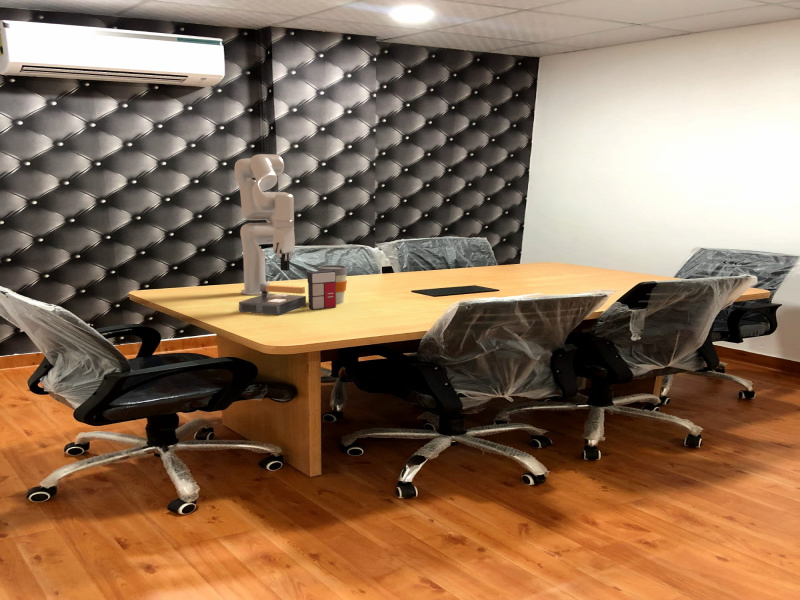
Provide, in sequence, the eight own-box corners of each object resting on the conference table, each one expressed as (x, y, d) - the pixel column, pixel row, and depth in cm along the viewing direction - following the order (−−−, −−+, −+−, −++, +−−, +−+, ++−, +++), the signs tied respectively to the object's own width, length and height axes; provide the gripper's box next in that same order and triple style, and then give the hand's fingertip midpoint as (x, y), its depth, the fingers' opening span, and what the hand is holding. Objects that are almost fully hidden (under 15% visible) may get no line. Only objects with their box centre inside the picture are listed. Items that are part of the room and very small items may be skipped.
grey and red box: (312, 310, 293) (311, 273, 290) (307, 308, 296) (307, 271, 294) (337, 307, 298) (336, 271, 296) (332, 306, 302) (331, 270, 299)
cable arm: (258, 291, 303) (258, 284, 303) (262, 289, 306) (262, 283, 306) (301, 293, 296) (301, 287, 296) (305, 292, 300) (305, 285, 299)
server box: (267, 302, 309) (266, 289, 308) (306, 305, 303) (305, 292, 302) (238, 312, 289) (237, 298, 288) (279, 315, 283) (278, 301, 282)
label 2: (275, 299, 294) (275, 298, 294) (286, 300, 292) (286, 299, 292) (267, 301, 288) (267, 301, 288) (278, 302, 287) (278, 302, 287)
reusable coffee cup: (318, 300, 317) (317, 265, 314) (347, 299, 318) (346, 265, 315) (317, 305, 304) (317, 269, 302) (348, 304, 305) (347, 268, 303)
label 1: (276, 294, 305) (276, 294, 305) (287, 295, 303) (287, 294, 303) (269, 297, 299) (269, 296, 299) (280, 297, 298) (280, 297, 298)
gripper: (285, 222, 301) (286, 267, 305) (266, 225, 288) (267, 272, 291) (301, 223, 299) (302, 268, 302) (283, 226, 285) (283, 273, 289)
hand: (285, 270), depth 297 cm, fingers closed
